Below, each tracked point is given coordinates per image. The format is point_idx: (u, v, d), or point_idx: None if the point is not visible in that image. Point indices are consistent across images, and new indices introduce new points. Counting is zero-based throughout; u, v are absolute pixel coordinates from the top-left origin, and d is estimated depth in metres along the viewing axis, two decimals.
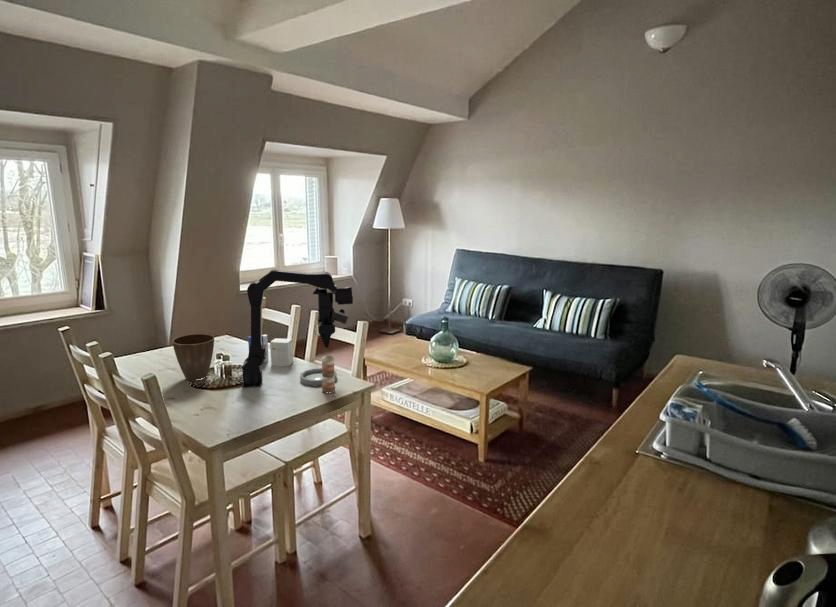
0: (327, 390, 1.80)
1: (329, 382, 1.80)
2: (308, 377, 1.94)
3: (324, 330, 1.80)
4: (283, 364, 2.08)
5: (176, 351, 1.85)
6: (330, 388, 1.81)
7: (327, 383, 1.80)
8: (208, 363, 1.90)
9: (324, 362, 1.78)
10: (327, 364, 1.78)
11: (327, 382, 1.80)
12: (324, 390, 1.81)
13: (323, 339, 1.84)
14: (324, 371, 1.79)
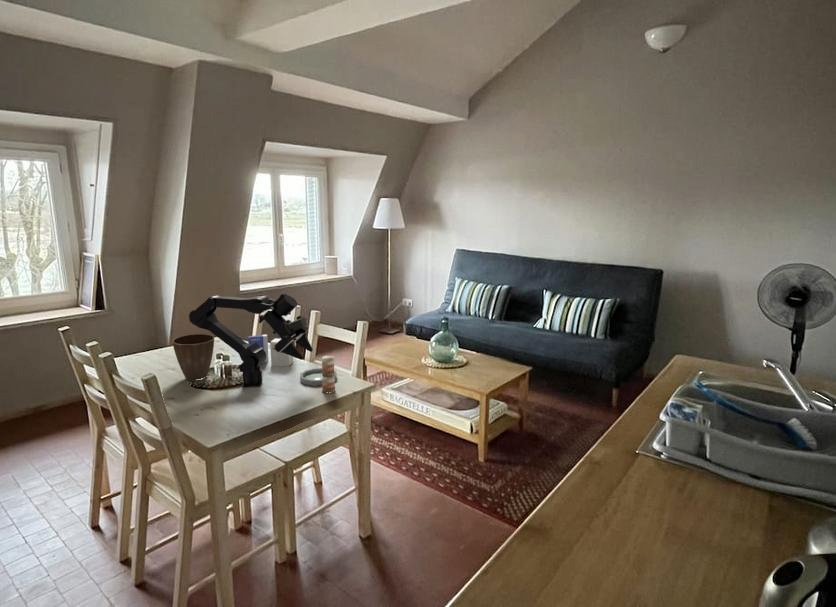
0: (327, 390, 1.80)
1: (329, 382, 1.80)
2: (308, 377, 1.94)
3: (279, 347, 1.72)
4: (283, 364, 2.08)
5: (176, 351, 1.85)
6: (330, 388, 1.81)
7: (327, 383, 1.80)
8: (208, 363, 1.90)
9: (324, 362, 1.78)
10: (327, 364, 1.78)
11: (327, 382, 1.80)
12: (324, 390, 1.81)
13: (292, 354, 1.76)
14: (324, 371, 1.79)
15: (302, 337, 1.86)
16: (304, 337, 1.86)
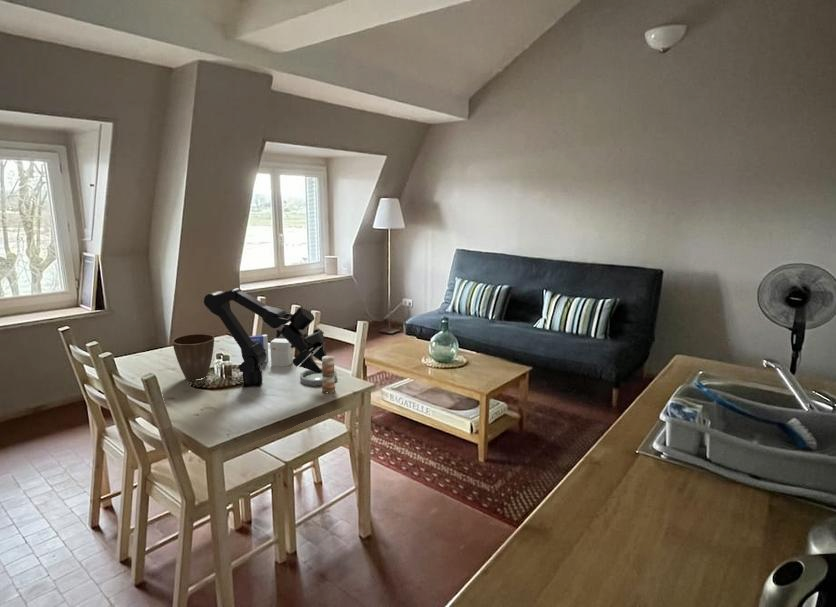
0: (327, 390, 1.80)
1: (329, 382, 1.80)
2: (308, 377, 1.94)
3: (298, 362, 1.72)
4: (283, 364, 2.08)
5: (176, 351, 1.85)
6: (330, 388, 1.81)
7: (327, 383, 1.80)
8: (208, 363, 1.90)
9: (324, 362, 1.78)
10: (327, 364, 1.78)
11: (327, 382, 1.80)
12: (324, 390, 1.81)
13: (310, 368, 1.76)
14: (324, 371, 1.79)
15: (319, 350, 1.86)
16: (321, 350, 1.86)
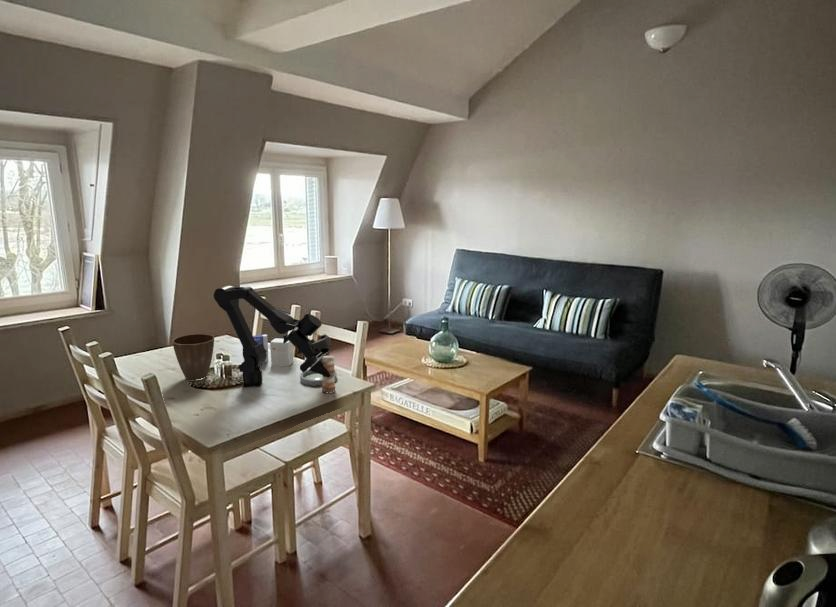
0: (327, 390, 1.80)
1: (329, 382, 1.80)
2: (308, 377, 1.94)
3: (305, 368, 1.72)
4: (283, 364, 2.08)
5: (176, 351, 1.85)
6: (330, 388, 1.81)
7: (327, 383, 1.80)
8: (208, 363, 1.90)
9: (324, 362, 1.78)
10: (327, 364, 1.78)
11: (327, 382, 1.80)
12: (324, 390, 1.81)
13: (319, 372, 1.78)
14: None
15: None
16: None
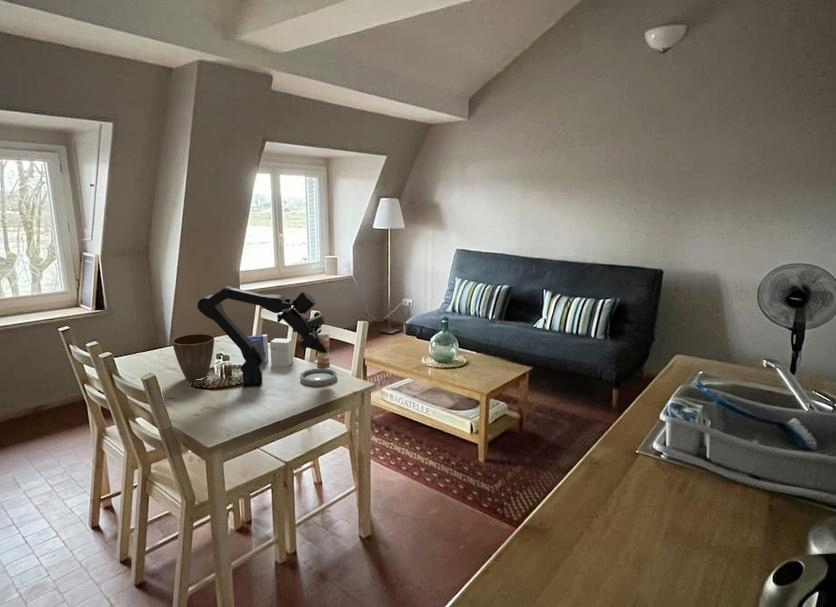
0: (323, 366, 1.86)
1: (325, 358, 1.86)
2: (308, 377, 1.94)
3: (306, 344, 1.76)
4: (283, 364, 2.08)
5: (176, 351, 1.85)
6: (326, 364, 1.86)
7: (324, 358, 1.86)
8: (208, 363, 1.90)
9: (321, 338, 1.84)
10: (324, 340, 1.84)
11: (323, 358, 1.85)
12: (320, 366, 1.86)
13: (316, 348, 1.83)
14: None
15: (317, 335, 1.89)
16: None
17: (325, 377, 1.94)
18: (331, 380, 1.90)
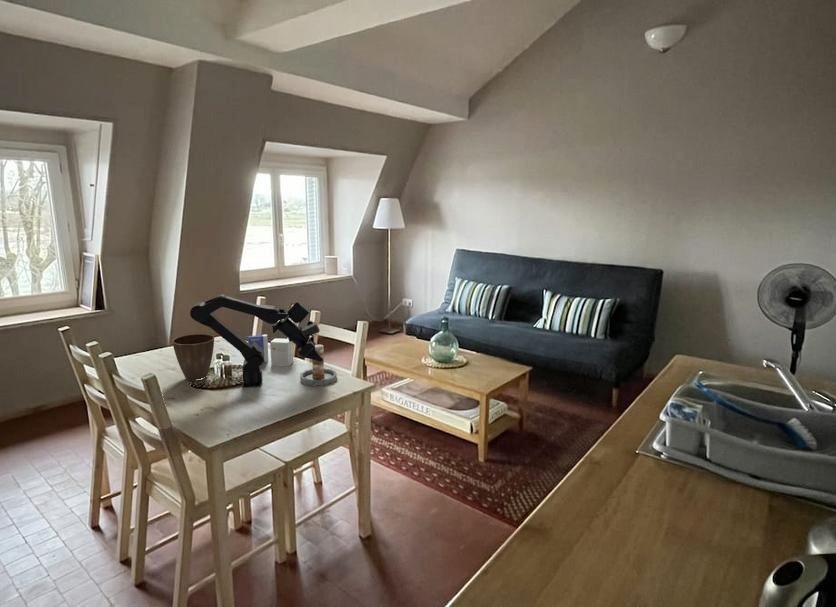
0: (319, 377, 1.92)
1: (321, 369, 1.92)
2: (308, 377, 1.94)
3: (305, 352, 1.81)
4: (283, 364, 2.08)
5: (176, 351, 1.85)
6: (322, 374, 1.92)
7: (319, 370, 1.91)
8: (208, 363, 1.90)
9: (316, 350, 1.89)
10: (319, 352, 1.90)
11: (319, 369, 1.91)
12: (316, 377, 1.92)
13: (313, 358, 1.86)
14: None
15: (310, 341, 1.95)
16: (312, 341, 1.95)
17: (325, 377, 1.94)
18: (331, 380, 1.90)
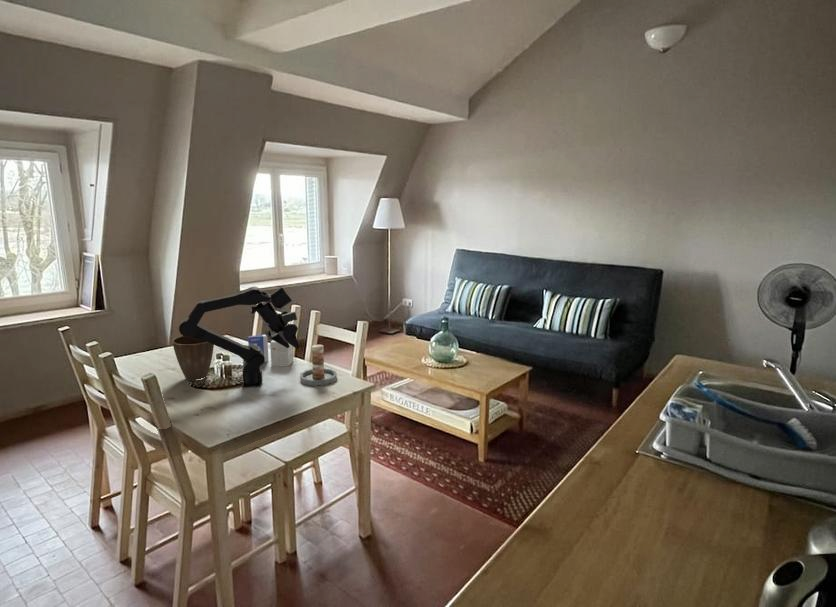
0: (319, 377, 1.92)
1: (321, 369, 1.92)
2: (308, 377, 1.94)
3: (289, 333, 1.80)
4: (283, 364, 2.08)
5: (176, 351, 1.85)
6: (322, 374, 1.92)
7: (319, 370, 1.91)
8: (208, 363, 1.90)
9: (316, 350, 1.89)
10: (319, 352, 1.90)
11: (319, 369, 1.91)
12: (316, 377, 1.92)
13: (292, 343, 1.84)
14: (316, 359, 1.90)
15: None
16: None
17: (325, 377, 1.94)
18: (331, 380, 1.90)
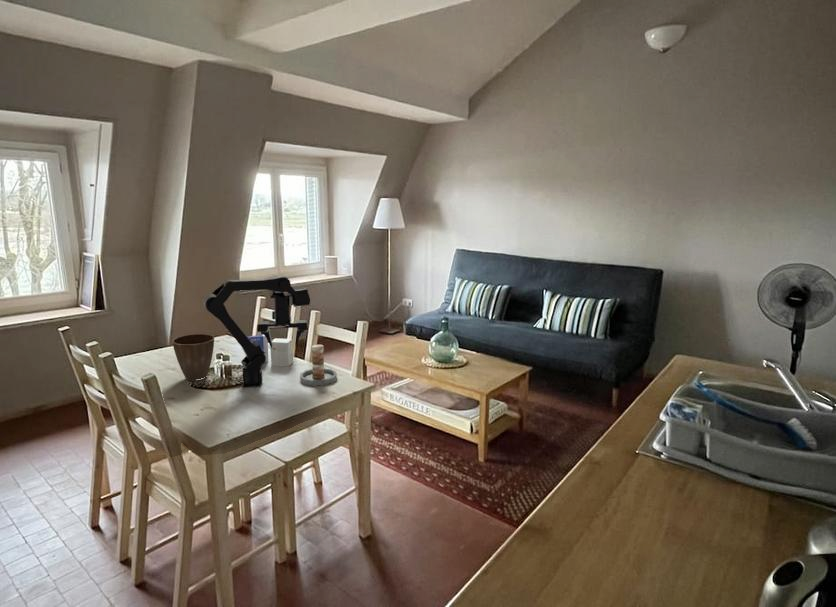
0: (319, 377, 1.92)
1: (321, 369, 1.92)
2: (308, 377, 1.94)
3: None
4: (283, 364, 2.08)
5: (176, 351, 1.85)
6: (322, 374, 1.92)
7: (319, 370, 1.91)
8: (208, 363, 1.90)
9: (316, 350, 1.89)
10: (319, 352, 1.90)
11: (319, 369, 1.91)
12: (316, 377, 1.92)
13: (298, 338, 1.91)
14: (316, 359, 1.90)
15: (269, 331, 1.90)
16: None
17: (325, 377, 1.94)
18: (331, 380, 1.90)
